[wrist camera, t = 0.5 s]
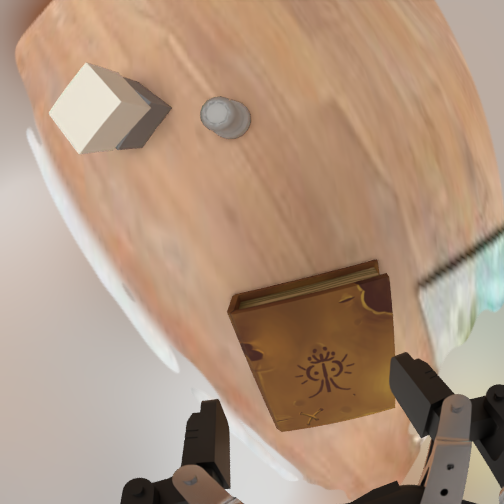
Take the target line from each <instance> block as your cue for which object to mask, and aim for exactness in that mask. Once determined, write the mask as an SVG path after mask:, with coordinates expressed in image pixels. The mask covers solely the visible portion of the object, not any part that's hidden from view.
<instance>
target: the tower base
mask: <svg viewBox="0 0 504 504" xmlns="http://www.w3.org/2000/svg"><path fill="white" fill-rule="evenodd" d="M123 78H124V79H125V80H126V81H127V82H128V83H129V85H130V86H131V87H132V88H133V89H134V90H135V91H136V92H137V93H138V94H139V95H140V96H141V98H142V99H143V100H144V101H145V102H146V103H147V104H148V105H149V106H150V107H151V109H150V110H149V111H148V112H147V113H146V114H145V115H144V116H143V117H142V118H141V119H140V120H139V121H138V123H137V124H136V125H135V126H134V127H133V128H132V129H131V130H130V131H129V132H128V134H127V135H126V136H125V137H124V138H123V139H122V141H121V142H120V143H119V144H118V145H117V146H116V149H117V150H122V149H133V148H142V147H143V146H144V145H145V143H146V142H147V140H148V139H149V138H150V136H151V135H152V133H153V132H154V131H155V129H156V128H157V127H158V125H159V124H160V123H161V121H162V120H163V119H164V118H165V116H166V115H167V114H168V112H169V111H170V110H171V109H172V108H171V107H170V106H169V105H167V104H166V103H165V102H164V101H162V100H161V99H160V98H158V97H157V96H156V95H154V94H153V93H152V92H151V91H149V90H148V89H147V88H145V87H144V86H143V85H141V84H140V83H139V82H136V81H133V80H130V79H128V78H125V77H123Z"/></svg>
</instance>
